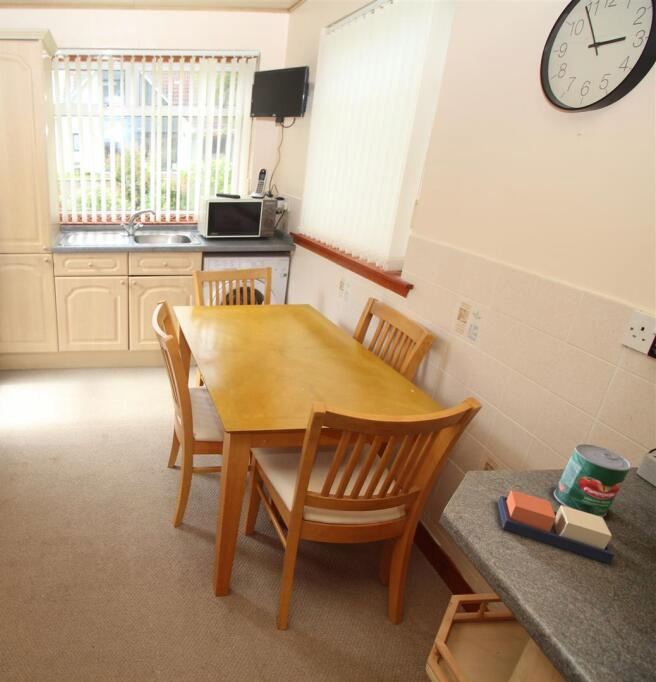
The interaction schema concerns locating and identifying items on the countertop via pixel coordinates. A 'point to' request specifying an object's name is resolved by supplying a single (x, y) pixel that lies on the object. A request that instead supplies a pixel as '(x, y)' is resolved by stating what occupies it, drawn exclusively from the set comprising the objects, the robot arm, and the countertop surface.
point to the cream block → (582, 527)
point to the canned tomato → (592, 479)
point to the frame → (552, 536)
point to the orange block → (530, 511)
